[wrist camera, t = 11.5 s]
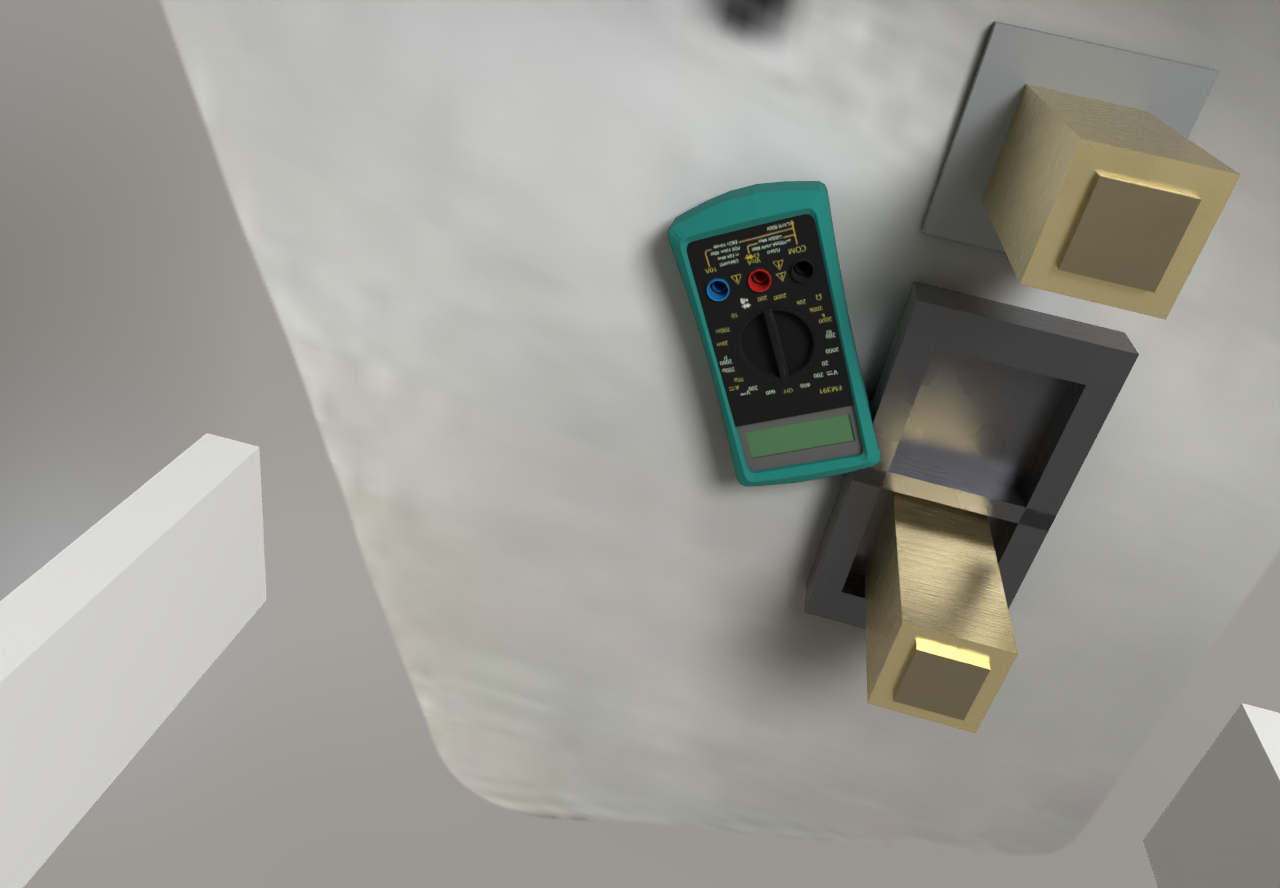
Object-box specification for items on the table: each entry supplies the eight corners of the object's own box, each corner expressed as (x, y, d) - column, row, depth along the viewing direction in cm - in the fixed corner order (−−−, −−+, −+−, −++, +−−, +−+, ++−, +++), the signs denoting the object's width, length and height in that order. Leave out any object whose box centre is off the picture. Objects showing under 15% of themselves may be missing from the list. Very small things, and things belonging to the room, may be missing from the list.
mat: (994, 21, 39) (996, 22, 38) (1214, 69, 38) (1219, 71, 38) (921, 229, 43) (922, 233, 43) (1116, 275, 43) (1119, 280, 42)
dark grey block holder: (914, 281, 45) (917, 300, 43) (1124, 332, 44) (1138, 354, 42) (806, 584, 54) (804, 612, 52) (976, 630, 54) (982, 660, 52)
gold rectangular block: (892, 488, 50) (903, 628, 40) (986, 512, 49) (1019, 660, 40) (864, 561, 52) (867, 709, 43) (952, 584, 52) (976, 739, 42)
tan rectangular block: (1025, 83, 39) (1083, 141, 29) (1146, 110, 39) (1245, 177, 29) (981, 200, 42) (1021, 288, 32) (1094, 226, 41) (1169, 323, 32)
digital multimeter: (823, 164, 42) (822, 180, 40) (881, 445, 49) (883, 475, 46) (669, 203, 45) (659, 220, 42) (743, 468, 51) (738, 497, 48)
